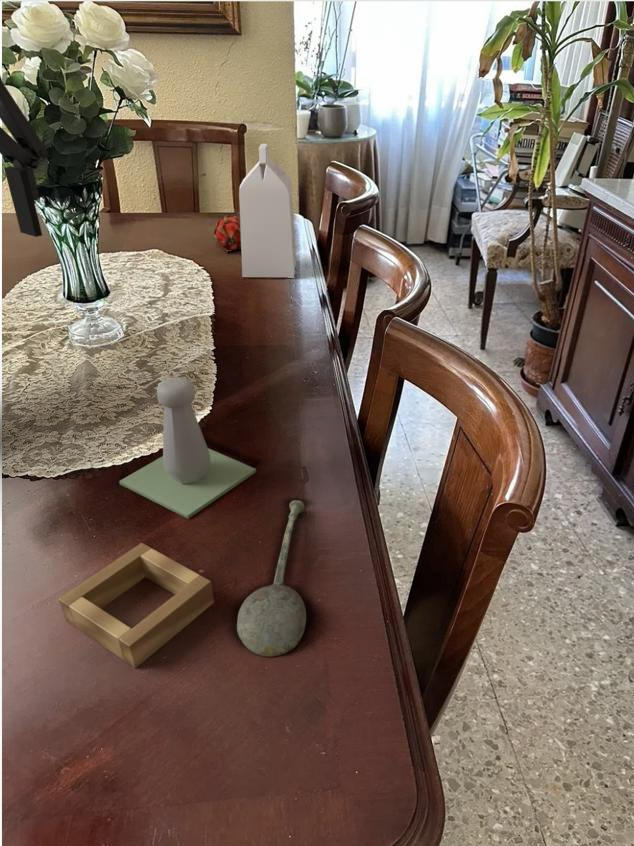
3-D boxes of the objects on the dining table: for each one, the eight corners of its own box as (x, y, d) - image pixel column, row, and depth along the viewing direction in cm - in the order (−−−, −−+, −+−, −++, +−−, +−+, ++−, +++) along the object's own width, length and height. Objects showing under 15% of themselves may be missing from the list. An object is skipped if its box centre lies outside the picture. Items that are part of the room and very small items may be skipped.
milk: (247, 262, 157) (238, 140, 142) (296, 262, 158) (292, 141, 143) (242, 278, 147) (231, 150, 132) (294, 279, 148) (289, 151, 133)
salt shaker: (221, 469, 85) (210, 377, 77) (194, 493, 81) (179, 398, 73) (184, 458, 87) (169, 367, 79) (155, 480, 82) (137, 387, 75)
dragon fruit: (239, 248, 172) (235, 269, 163) (210, 228, 168) (204, 249, 159) (256, 222, 167) (253, 242, 159) (227, 201, 164) (222, 221, 155)
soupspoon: (230, 659, 61) (300, 665, 61) (228, 635, 59) (301, 642, 59) (270, 508, 79) (325, 513, 79) (270, 486, 77) (326, 491, 77)
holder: (65, 621, 64) (58, 598, 62) (146, 563, 71) (141, 542, 69) (135, 668, 59) (129, 646, 58) (214, 602, 66) (211, 581, 65)
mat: (119, 484, 83) (118, 481, 82) (190, 443, 91) (189, 440, 90) (188, 519, 77) (187, 515, 77) (256, 472, 85) (256, 468, 85)
